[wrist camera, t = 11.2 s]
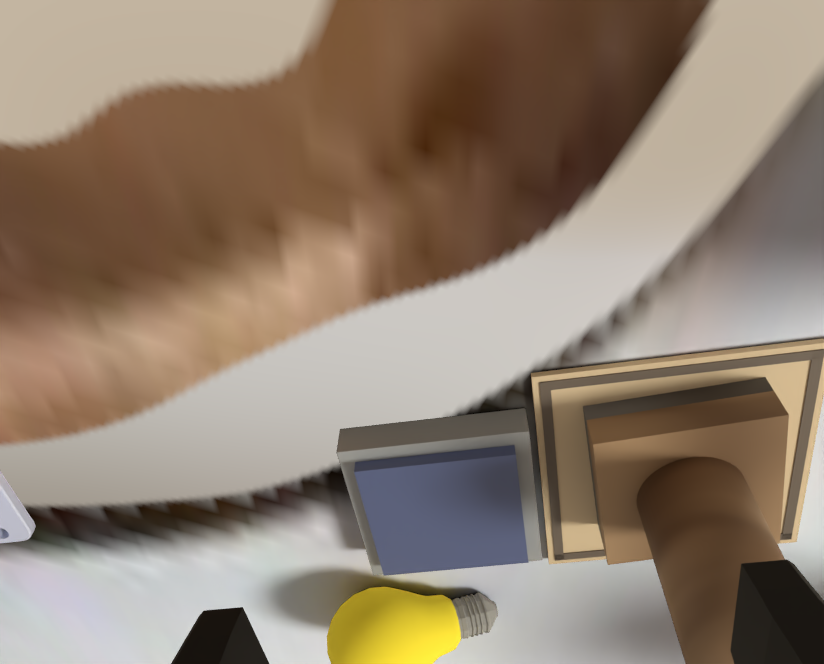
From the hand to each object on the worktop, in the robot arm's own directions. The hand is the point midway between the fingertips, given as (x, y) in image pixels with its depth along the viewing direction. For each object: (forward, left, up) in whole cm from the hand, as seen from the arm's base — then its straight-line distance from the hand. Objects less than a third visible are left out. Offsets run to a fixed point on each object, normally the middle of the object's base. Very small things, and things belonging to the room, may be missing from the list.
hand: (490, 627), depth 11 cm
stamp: (+6, -7, -10) cm, 13 cm away
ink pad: (-2, -7, -10) cm, 12 cm away
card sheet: (+6, -7, -10) cm, 13 cm away
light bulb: (-3, -13, -10) cm, 17 cm away
